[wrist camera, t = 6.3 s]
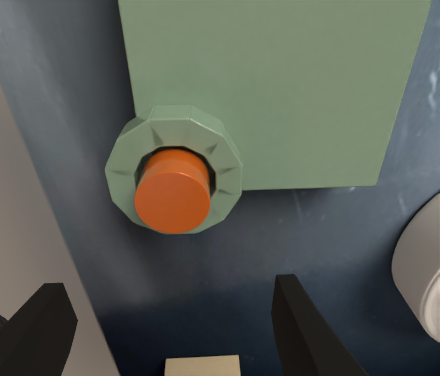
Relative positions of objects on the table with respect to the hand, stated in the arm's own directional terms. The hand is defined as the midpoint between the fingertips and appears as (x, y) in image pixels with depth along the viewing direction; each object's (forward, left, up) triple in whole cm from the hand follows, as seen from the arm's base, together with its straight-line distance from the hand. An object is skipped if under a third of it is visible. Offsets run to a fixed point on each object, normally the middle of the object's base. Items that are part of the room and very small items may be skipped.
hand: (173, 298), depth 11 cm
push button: (0, +2, -5) cm, 5 cm away
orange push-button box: (+4, +6, -10) cm, 12 cm away
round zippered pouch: (+24, -9, -10) cm, 28 cm away
